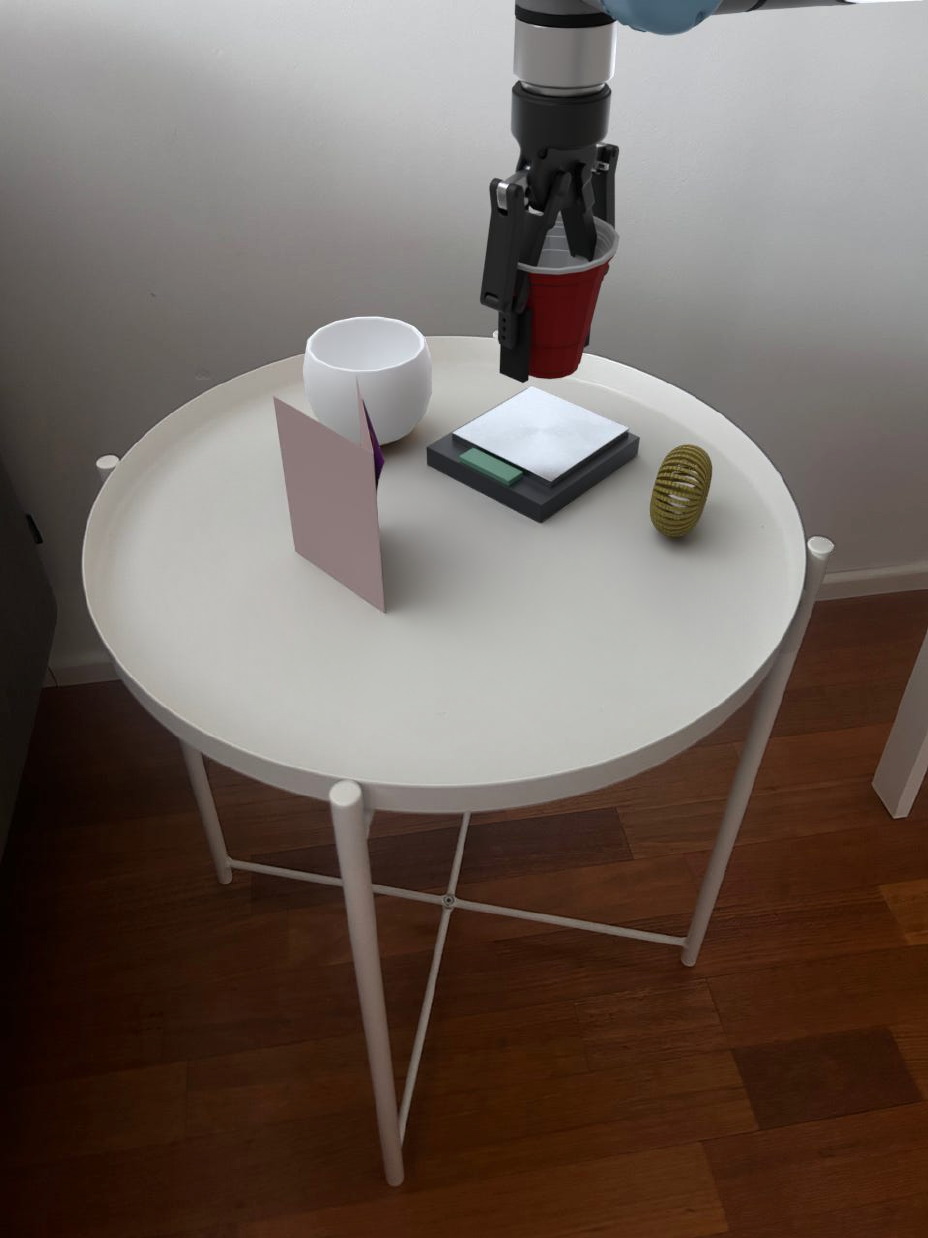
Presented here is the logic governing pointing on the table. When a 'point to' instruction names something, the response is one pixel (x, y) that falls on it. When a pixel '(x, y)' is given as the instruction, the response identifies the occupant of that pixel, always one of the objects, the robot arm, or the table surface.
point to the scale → (534, 452)
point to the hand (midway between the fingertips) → (545, 358)
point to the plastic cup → (564, 299)
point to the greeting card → (334, 498)
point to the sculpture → (680, 490)
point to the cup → (368, 376)
